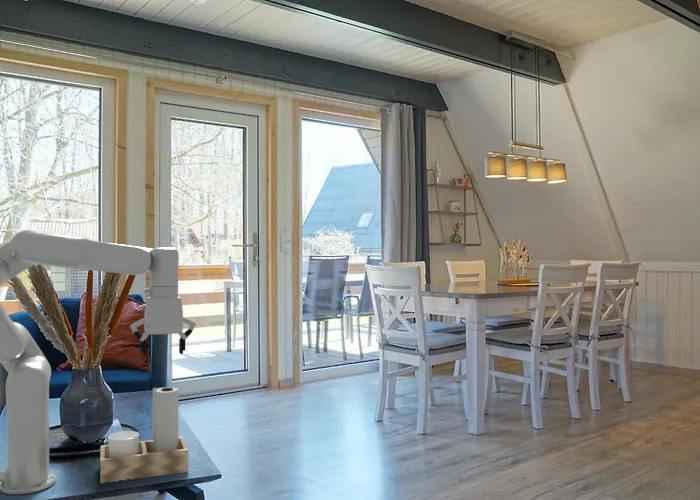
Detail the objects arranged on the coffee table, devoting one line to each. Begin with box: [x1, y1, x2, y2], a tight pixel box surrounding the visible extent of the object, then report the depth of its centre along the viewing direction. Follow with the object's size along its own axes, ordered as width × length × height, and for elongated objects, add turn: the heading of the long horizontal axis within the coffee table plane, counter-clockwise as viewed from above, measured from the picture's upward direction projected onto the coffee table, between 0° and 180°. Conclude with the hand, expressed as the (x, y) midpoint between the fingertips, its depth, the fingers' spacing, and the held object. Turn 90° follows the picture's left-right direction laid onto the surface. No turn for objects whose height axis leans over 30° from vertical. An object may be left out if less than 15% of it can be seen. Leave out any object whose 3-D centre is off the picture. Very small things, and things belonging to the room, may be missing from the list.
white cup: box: [107, 430, 140, 458], centre depth 163 cm, size 8×8×10 cm
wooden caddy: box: [99, 436, 189, 484], centre depth 165 cm, size 22×12×6 cm, turn 112°
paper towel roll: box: [152, 386, 179, 453], centre depth 169 cm, size 7×6×21 cm
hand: (163, 354), depth 167 cm, fingers open, 9 cm apart
